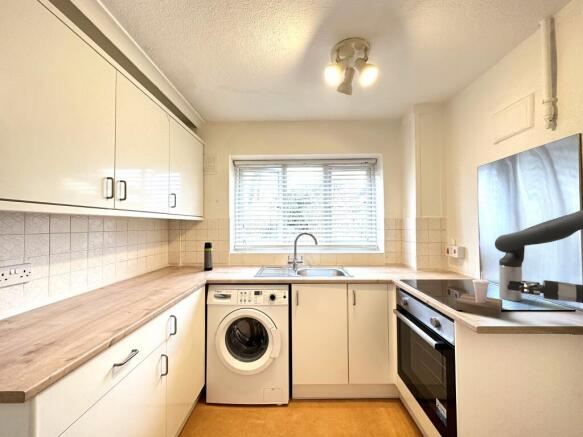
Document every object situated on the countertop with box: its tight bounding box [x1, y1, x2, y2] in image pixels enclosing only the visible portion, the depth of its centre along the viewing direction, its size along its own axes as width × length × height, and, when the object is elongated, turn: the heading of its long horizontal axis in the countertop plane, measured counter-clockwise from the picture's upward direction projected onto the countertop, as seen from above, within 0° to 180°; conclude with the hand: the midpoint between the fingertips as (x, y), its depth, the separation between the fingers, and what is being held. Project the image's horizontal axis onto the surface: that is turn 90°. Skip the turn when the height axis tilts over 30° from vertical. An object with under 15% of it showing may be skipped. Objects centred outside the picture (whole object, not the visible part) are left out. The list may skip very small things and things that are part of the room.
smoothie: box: [472, 271, 490, 303], centre depth 128 cm, size 6×6×14 cm
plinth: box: [455, 293, 503, 319], centre depth 130 cm, size 16×16×4 cm
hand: (508, 284), depth 123 cm, fingers open, 8 cm apart
